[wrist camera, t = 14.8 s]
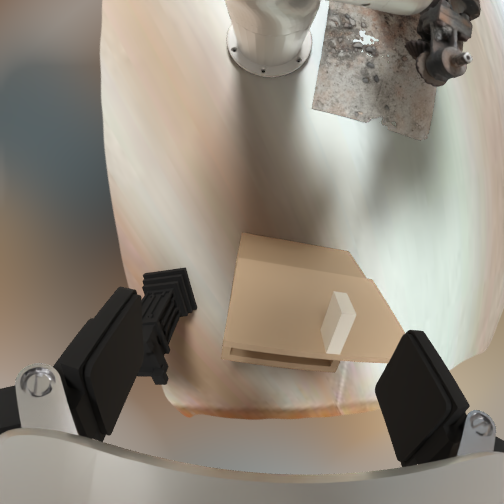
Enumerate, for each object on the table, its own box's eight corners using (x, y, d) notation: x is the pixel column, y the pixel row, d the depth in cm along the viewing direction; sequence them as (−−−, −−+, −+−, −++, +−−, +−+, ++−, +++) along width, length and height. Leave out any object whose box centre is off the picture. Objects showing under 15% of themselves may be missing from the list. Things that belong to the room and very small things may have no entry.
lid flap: (237, 261, 37) (243, 226, 35) (370, 283, 38) (381, 251, 36) (222, 345, 23) (229, 296, 21) (417, 363, 23) (439, 323, 22)
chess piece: (185, 267, 51) (148, 339, 33) (197, 307, 54) (170, 386, 36) (144, 273, 52) (95, 341, 34) (157, 311, 55) (119, 385, 36)
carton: (242, 232, 49) (235, 263, 38) (348, 251, 49) (370, 284, 38) (228, 315, 55) (220, 358, 43) (323, 328, 55) (335, 372, 44)
